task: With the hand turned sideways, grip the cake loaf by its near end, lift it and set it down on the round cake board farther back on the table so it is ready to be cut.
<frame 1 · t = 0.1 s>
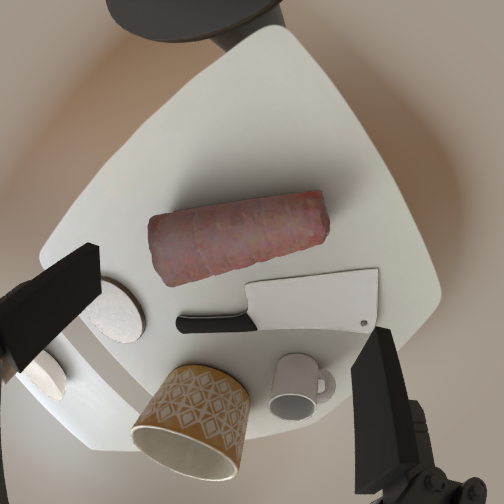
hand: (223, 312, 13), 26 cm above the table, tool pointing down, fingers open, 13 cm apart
food: (245, 230, 39), on the table
bowl: (52, 362, 66), on the table
planter: (209, 390, 54), on the table
cup: (305, 366, 46), on the table
pillar candle: (18, 351, 72), on the table
cake board: (113, 309, 50), on the table
kitchen cleaver: (270, 307, 43), on the table
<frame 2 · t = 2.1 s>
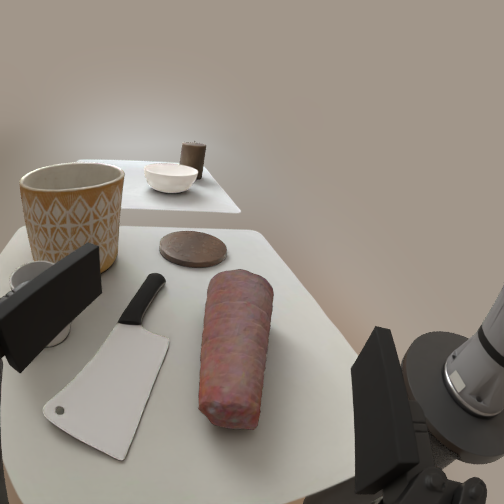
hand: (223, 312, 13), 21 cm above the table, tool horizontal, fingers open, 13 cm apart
food: (224, 364, 36), on the table
bowl: (168, 190, 95), on the table
planter: (75, 260, 48), on the table
cup: (43, 337, 31), on the table
pillar candle: (189, 177, 115), on the table
cake board: (192, 250, 61), on the table
kitchen cleaver: (132, 347, 34), on the table
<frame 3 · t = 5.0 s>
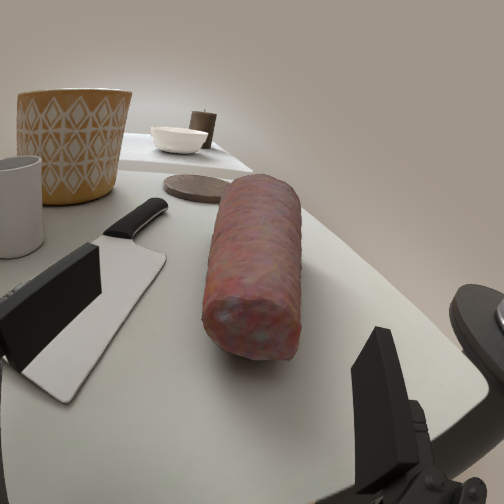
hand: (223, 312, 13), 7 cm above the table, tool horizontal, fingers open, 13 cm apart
food: (239, 287, 27), on the table
bowl: (176, 152, 87), on the table
planter: (67, 191, 41), on the table
cup: (9, 250, 23), on the table
pillar candle: (198, 146, 108), on the table
cake board: (201, 190, 53), on the table
kitchen cleaver: (116, 262, 26), on the table
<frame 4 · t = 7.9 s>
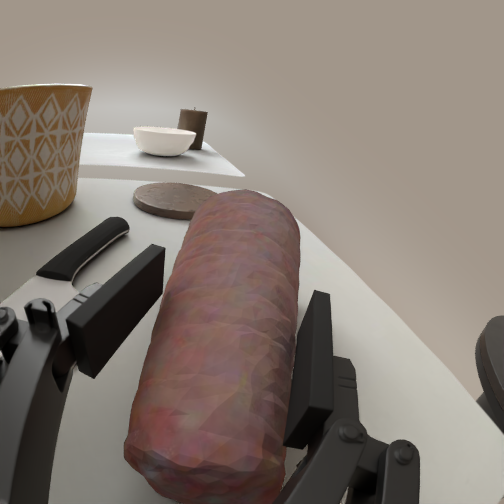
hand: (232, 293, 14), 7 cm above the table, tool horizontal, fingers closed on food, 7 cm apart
food: (208, 357, 18), on the table, touching gripper
bowl: (161, 154, 78), on the table
planter: (23, 207, 32), on the table
pillar candle: (187, 147, 99), on the table
cake board: (178, 202, 44), on the table
kitchen cleaver: (48, 316, 17), on the table
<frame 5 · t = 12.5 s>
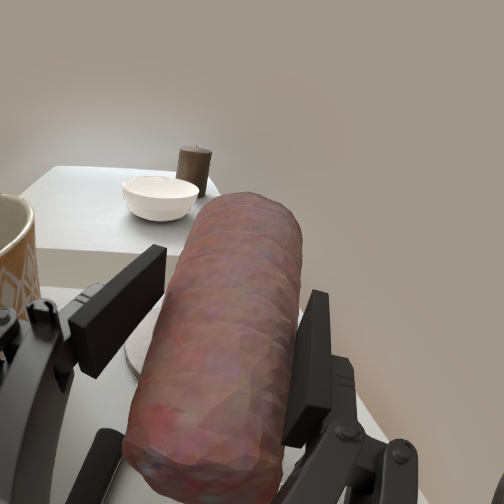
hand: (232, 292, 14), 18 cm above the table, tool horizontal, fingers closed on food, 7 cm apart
food: (209, 358, 18), point 11 cm above the table, touching gripper
bowl: (157, 215, 68), on the table
pillar candle: (189, 193, 88), on the table
cake board: (183, 350, 33), on the table
when the fingers open (8 cm above the table, at t = 17.2 s): food stays where it is, resting on cake board.
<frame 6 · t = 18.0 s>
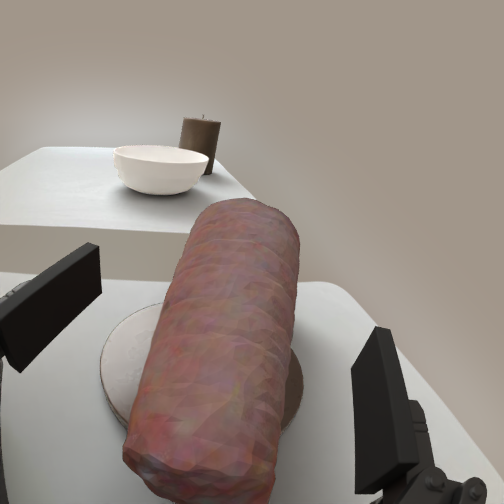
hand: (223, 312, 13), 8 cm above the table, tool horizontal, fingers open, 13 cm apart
food: (207, 363, 19), point 1 cm above the table, touching cake board
bowl: (156, 190, 54), on the table
pillar candle: (193, 171, 74), on the table
cake board: (201, 372, 19), on the table
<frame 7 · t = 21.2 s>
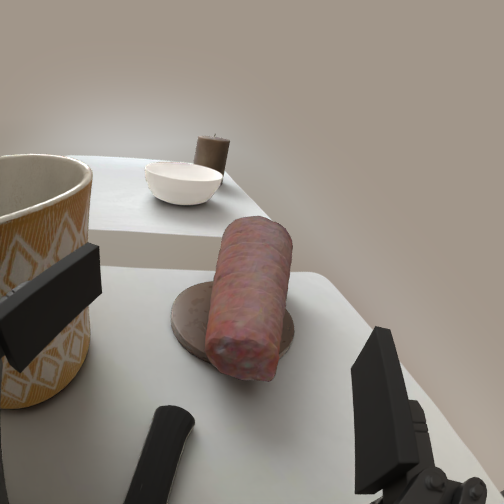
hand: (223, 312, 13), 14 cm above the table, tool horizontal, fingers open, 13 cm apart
food: (236, 316, 33), point 1 cm above the table, touching cake board
bowl: (179, 200, 68), on the table
planter: (17, 346, 21), on the table
pillar candle: (206, 182, 88), on the table
cake board: (232, 323, 33), on the table
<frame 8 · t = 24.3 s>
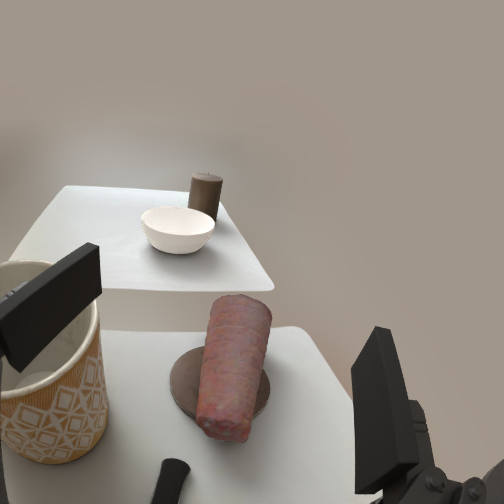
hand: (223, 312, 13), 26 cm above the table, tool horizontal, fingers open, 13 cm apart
food: (222, 381, 38), point 1 cm above the table, touching cake board
bowl: (175, 246, 73), on the table
planter: (49, 410, 26), on the table
pillar candle: (201, 218, 93), on the table
cake board: (219, 385, 38), on the table
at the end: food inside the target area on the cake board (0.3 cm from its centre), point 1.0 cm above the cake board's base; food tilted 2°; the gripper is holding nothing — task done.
